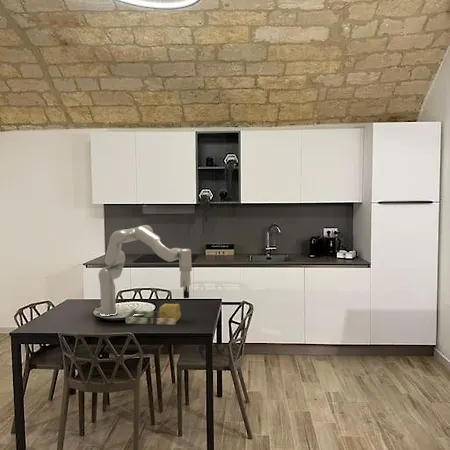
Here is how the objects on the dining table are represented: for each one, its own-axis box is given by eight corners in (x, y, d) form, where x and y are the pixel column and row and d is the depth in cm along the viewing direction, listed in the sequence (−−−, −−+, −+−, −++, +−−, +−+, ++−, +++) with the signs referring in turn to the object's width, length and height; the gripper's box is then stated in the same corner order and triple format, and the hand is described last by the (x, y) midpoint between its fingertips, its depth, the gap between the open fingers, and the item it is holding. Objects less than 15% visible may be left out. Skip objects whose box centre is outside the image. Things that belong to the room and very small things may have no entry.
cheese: (175, 323, 295) (175, 307, 294) (158, 322, 297) (158, 306, 296) (180, 319, 305) (180, 303, 304) (164, 318, 307) (163, 302, 306)
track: (125, 323, 296) (125, 316, 295) (133, 316, 312) (133, 309, 311) (175, 324, 292) (175, 317, 292) (180, 317, 308) (180, 310, 308)
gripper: (182, 266, 305) (182, 295, 306) (177, 270, 290) (177, 300, 291) (193, 266, 304) (194, 295, 305) (189, 270, 289) (190, 300, 290)
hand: (186, 297), depth 298 cm, fingers closed
